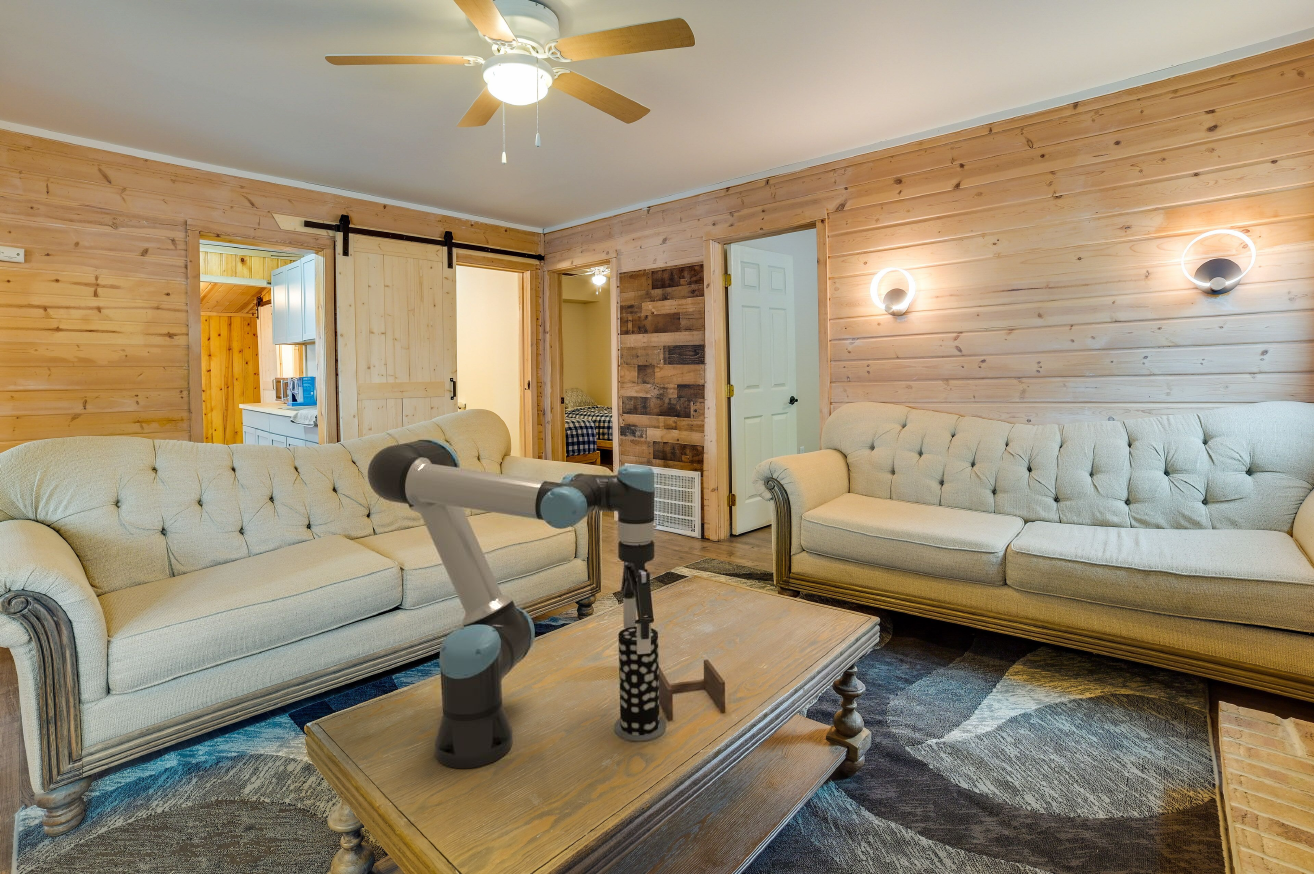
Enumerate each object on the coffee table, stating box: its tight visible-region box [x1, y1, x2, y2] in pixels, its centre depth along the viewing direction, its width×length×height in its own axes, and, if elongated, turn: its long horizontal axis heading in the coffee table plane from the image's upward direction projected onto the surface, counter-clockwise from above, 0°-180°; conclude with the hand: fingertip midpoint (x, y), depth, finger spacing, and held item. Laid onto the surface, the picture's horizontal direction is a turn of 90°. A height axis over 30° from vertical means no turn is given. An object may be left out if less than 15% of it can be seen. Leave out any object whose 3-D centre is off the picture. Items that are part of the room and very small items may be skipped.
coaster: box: [613, 715, 667, 743], centre depth 140 cm, size 11×11×1 cm
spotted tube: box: [618, 625, 660, 735], centre depth 139 cm, size 8×8×20 cm
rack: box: [659, 659, 726, 722], centre depth 150 cm, size 13×12×7 cm
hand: (636, 639), depth 138 cm, fingers open, 13 cm apart
